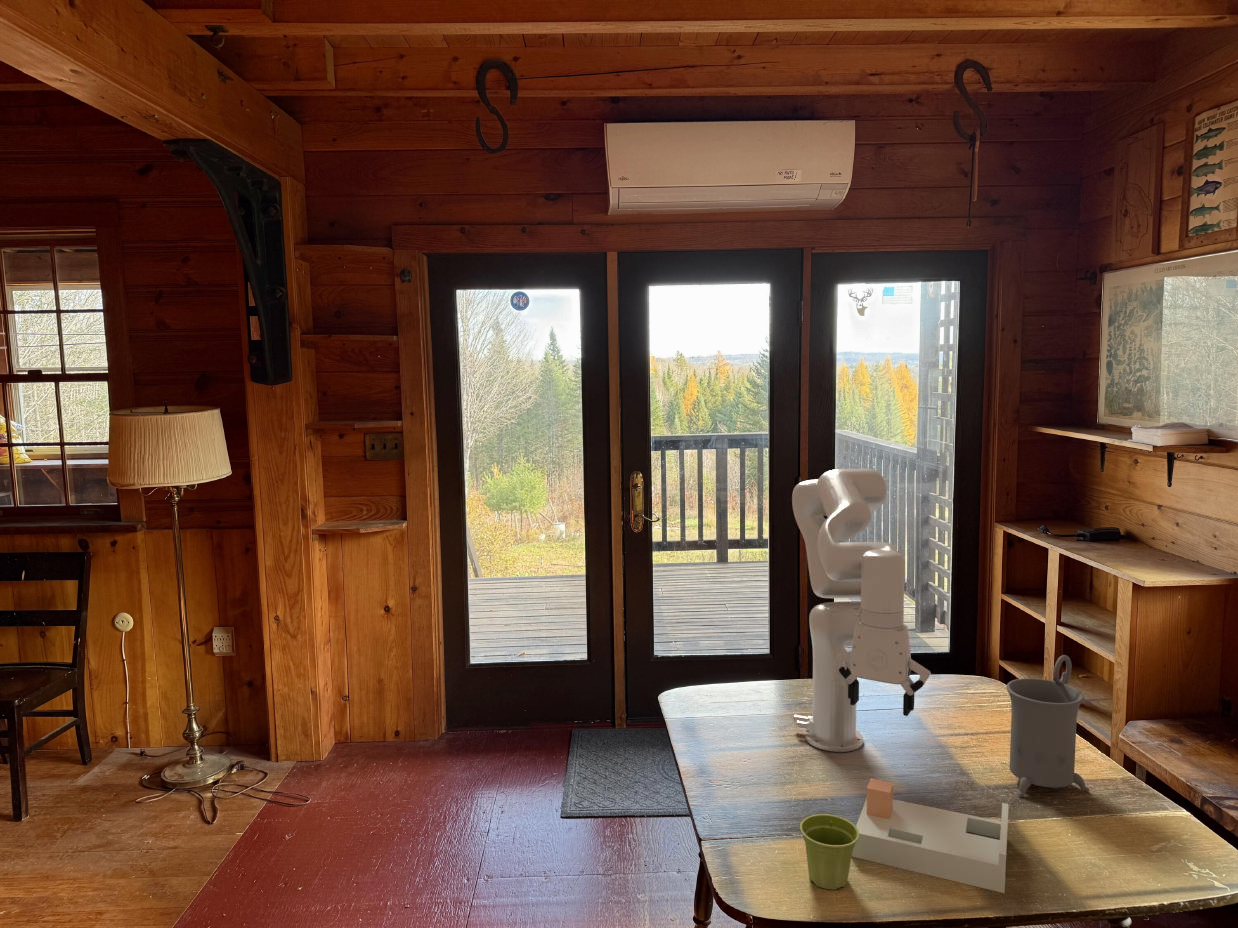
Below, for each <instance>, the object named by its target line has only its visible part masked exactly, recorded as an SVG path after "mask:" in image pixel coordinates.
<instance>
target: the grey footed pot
mask: <svg viewBox="0 0 1238 928" xmlns="http://www.w3.org/2000/svg"><path fill="white" fill-rule="evenodd" d="M1063 662H1065V668H1066V669H1065V671H1064V672H1062V673H1061V677H1060V670H1061V669H1060V668H1061V666H1062V663H1063ZM1072 666H1073V663H1072V660H1071V658H1070V657H1069V656H1068V655H1065V654H1062V655H1060V656H1059V657H1058V659H1057V660H1056V661H1055V665H1054V667H1053V673H1052V674H1053V680H1051V679H1045V678H1036V677H1035V678H1033V677H1032V678H1031V677H1030V678H1029V677H1028V678H1016V679H1013V680H1010V681H1009V682H1008V683H1007V684H1006V685H1005V689H1006V691H1007V692H1008V695H1009V698H1010V703H1011V704H1010V705H1011V717H1010V742H1009V743H1010V746H1009V771H1010V772H1011V774H1012V775H1013V776H1015V778H1017V779H1019V780H1020V781H1019V786H1018V788H1019V789H1018V790H1019V791H1018V793H1017V796H1018V797H1019V798H1022V797H1023V796H1024V795H1025V794H1026V792H1027V790H1028V789H1029V788H1030V787H1031V786H1032V785H1035V786H1039V787H1043V788H1055V789H1056V788H1064V787H1068V786H1070V785H1072V784H1073V783H1074V784H1076V785H1077V786H1078V787H1079V789H1081V790H1082V791H1083V792H1087V793H1089V792H1090V788H1089V787H1088V786H1086V783H1085V780H1084V778H1083V777H1082V776H1081V775H1080V774H1078V773H1077V772H1075V767H1076V765H1075V762H1076V744H1077V720H1078V713H1079V709H1080V706H1081V704H1082V703H1083V702H1084V701H1085V696H1084V694H1083V692H1081V691H1080V690H1079V689H1078V688H1076V687H1073V686H1071V685H1069V681H1070V679H1071V675H1072V669H1073V667H1072Z"/></svg>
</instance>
